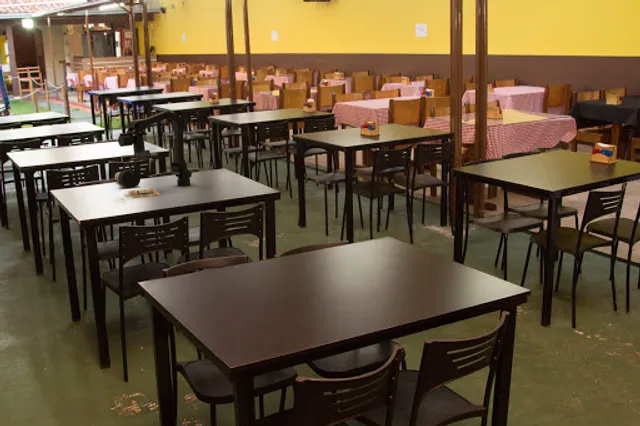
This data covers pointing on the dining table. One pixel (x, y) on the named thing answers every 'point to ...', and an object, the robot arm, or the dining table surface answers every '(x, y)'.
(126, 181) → the black cylinder
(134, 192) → the board
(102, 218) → the dining table surface
